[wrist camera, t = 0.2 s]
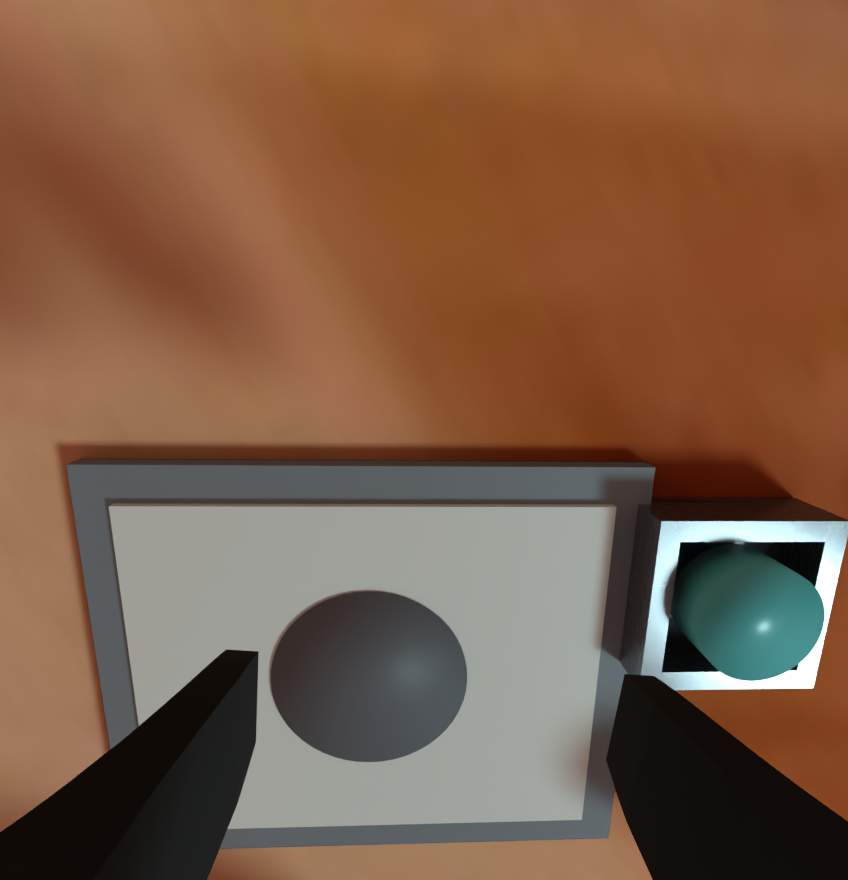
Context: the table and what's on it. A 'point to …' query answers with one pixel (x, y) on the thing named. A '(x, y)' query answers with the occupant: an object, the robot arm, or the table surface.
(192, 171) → the table surface
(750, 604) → the button
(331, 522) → the board
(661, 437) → the table surface
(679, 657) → the button housing
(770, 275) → the table surface
